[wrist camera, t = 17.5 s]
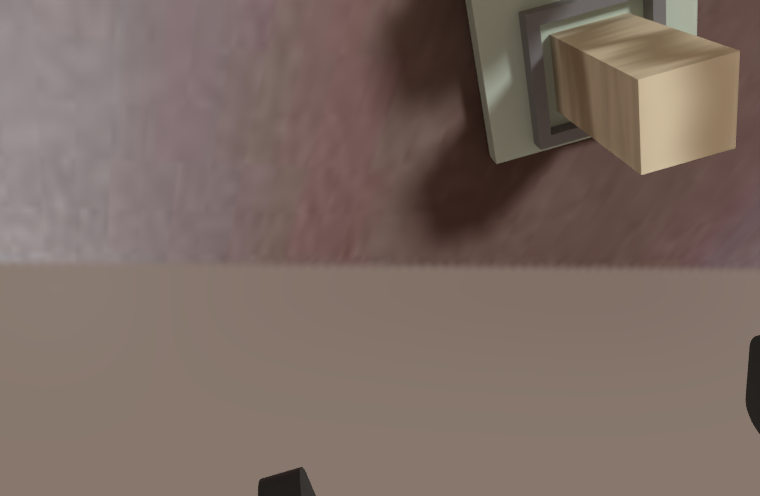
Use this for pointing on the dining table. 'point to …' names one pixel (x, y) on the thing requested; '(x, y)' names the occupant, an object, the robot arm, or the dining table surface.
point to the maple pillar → (647, 90)
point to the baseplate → (540, 63)
